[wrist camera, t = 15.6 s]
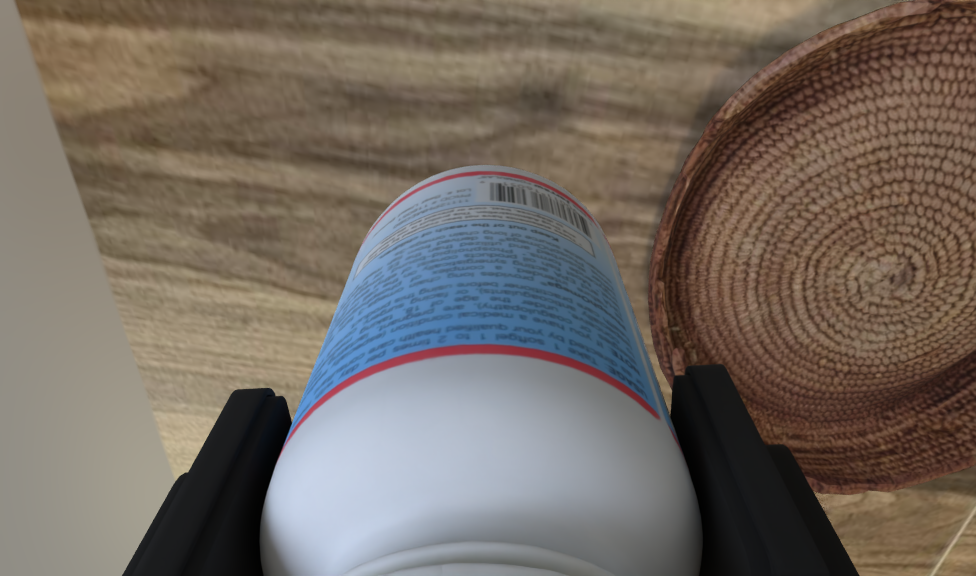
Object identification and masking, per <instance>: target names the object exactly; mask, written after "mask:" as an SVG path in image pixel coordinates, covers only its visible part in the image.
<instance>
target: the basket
mask: <svg viewBox="0 0 976 576" xmlns="http://www.w3.org/2000/svg"><path fill="white" fill-rule="evenodd" d="M648 303H649V316H650V325H651V332H652V338H653V344H654V348H655V351H656V354H657V357H658V361H659V364H660V367H661V370H662V372H663V374H664V376H665V377H666V379H667V381H668V383H669V385H670V387H671V389H672V388H673V379H674V376H675V375H684V374H685V369H686V367H687V366H692V365H711V364H723V365H724V366H725V367H726V369H727V371H728V373H729V375H730V377H731V379H732V381H733V383H734V385H735V387H736V389H737V390H738V392H739V394H740V396H741V398H742V400H743V402H744V404H745V406H746V408H747V410H748V412H749V414H750V416H751V418H752V420H753V422H754V424H755V426H756V428H757V430H758V432H759V434H760V436H761V438H762V440H763V442H764V444H765V445H773V444H783V445H785V446H787V447H788V448H789V450H790V451H791V453H792V454H793V456H794V457H795V459H796V461H797V463H798V465H799V467H800V468H801V470H802V472H803V474H804V476H805V477H806V479H807V481H808V483H809V485H810V487H811V488H812V490H813V491H815V492H818V493H821V494H843V495H852V494H859V493H864V492H866V491H869V490H870V491H883V492H891V491H895V490H899V489H903V488H907V487H910V486H914V485H918V484H921V483H924V482H927V481H930V480H933V479H936V478H939V477H942V476H944V475H947V474H951V473H955V472H958V471H961V470H964V469H967V468H969V467H972V466H974V465H975V464H976V0H915V1H908V2H900V3H897V4H893V5H890V6H887V7H884V8H881V9H878V10H876V11H873V12H871V13H868V14H866V15H863V16H861V17H858V18H855V19H852V20H850V21H847V22H844V23H841V24H838V25H836V26H833V27H831V28H829V29H827V30H825V31H822V32H820V33H818V34H817V35H815V36H813V37H811V38H809V39H808V40H806V41H804V42H802V43H800V44H799V45H797V46H795V47H793V48H791V49H790V50H788V51H786V52H785V53H784V54H782V55H781V56H780V57H778V58H777V59H775V60H774V61H773V62H771V63H770V64H769V65H767V66H766V67H764V68H763V69H762V70H760V71H759V72H758V73H756V74H755V75H754V76H753V77H752V78H751V79H750V80H748V81H747V82H746V83H745V84H744V85H743V86H742V87H741V88H740V89H739V90H738V91H737V92H736V93H735V94H733V95H732V96H731V97H730V98H729V99H728V101H727V102H726V103H725V104H724V105H723V106H722V107H721V108H720V109H719V111H718V112H717V113H716V114H715V115H714V116H713V118H712V119H711V120H710V122H709V123H708V124H707V126H706V128H705V130H704V133H703V135H702V137H701V138H700V140H699V141H698V143H697V144H696V145H695V147H694V148H693V150H692V151H691V153H690V154H689V156H688V157H687V159H686V161H685V163H684V165H683V168H682V170H681V172H680V174H679V176H678V178H677V180H676V182H675V184H674V187H673V189H672V191H671V194H670V196H669V198H668V201H667V204H666V207H665V210H664V213H663V216H662V219H661V222H660V225H659V227H658V230H657V233H656V235H655V240H654V245H653V250H652V256H651V261H650V270H649V289H648Z"/></svg>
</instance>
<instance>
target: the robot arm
mask: <svg viewBox="0 0 976 576" xmlns="http://www.w3.org/2000/svg"><path fill="white" fill-rule="evenodd" d="M671 420H672V423H673V425H674V428H675V431H676V434H677V437H678V441H679V444H680V446H681V449H682V451H683V454H684V457H685V460H686V463H687V466H688V468H689V472H690V476H691V480H692V483H693V486H694V489H695V492H696V495H697V499H698V504H699V509H700V514H701V520H702V532H703V549H702V559H701V568H700V573H699V576H859V574H858V572H857V570H856V568H855V567H854V565H853V563H852V561H851V559H850V558H849V556H848V554H847V552H846V550H845V548H844V547H843V545H842V543H841V541H840V539H839V538H838V536H837V534H836V532H835V530H834V528H833V527H832V525H831V523H830V521H829V519H828V518H827V516H826V514H825V512H824V510H823V508H822V507H821V505H820V503H819V501H818V499H817V498H816V496H815V494H814V492H813V490H812V488H811V487H810V485H809V483H808V481H807V479H806V477H805V476H804V474H803V472H802V470H801V468H800V467H799V465H798V463H797V461H796V459H795V457H794V456H793V454H792V453H791V451H790V450H789V448H788V447H787V446H785V445H783V444H773V445H765V444H764V442H763V440H762V438H761V436H760V434H759V432H758V430H757V428H756V426H755V424H754V422H753V420H752V418H751V416H750V414H749V412H748V410H747V408H746V406H745V404H744V402H743V400H742V398H741V396H740V394H739V392H738V390H737V389H736V387H735V385H734V383H733V381H732V379H731V377H730V375H729V373H728V371H727V369H726V367H725V366H724V365H723V364H711V365H692V366H687V367H686V369H685V374H684V375H675V376H674V379H673V388H672V403H671ZM291 425H292V421H291V417H290V413H289V409H288V406H287V402H286V399H285V398H284V397H283V396H275V393H274V391H273V390H272V389H270V388H257V389H238V390H235V391H234V392H233V393H232V394H231V396H230V397H229V399H228V401H227V403H226V405H225V407H224V408H223V410H222V412H221V414H220V416H219V417H218V419H217V421H216V423H215V425H214V427H213V428H212V430H211V432H210V434H209V436H208V437H207V439H206V441H205V443H204V445H203V447H202V448H201V450H200V452H199V454H198V456H197V457H196V459H195V461H194V463H193V465H192V467H191V468H190V470H189V472H188V473H184V474H183V475H181V476H179V478H178V479H177V480H176V482H175V483H174V485H173V487H172V488H171V490H170V492H169V493H168V495H167V497H166V499H165V501H164V502H163V504H162V506H161V508H160V509H159V511H158V513H157V515H156V517H155V518H154V520H153V522H152V524H151V525H150V527H149V529H148V531H147V533H146V534H145V536H144V538H143V540H142V541H141V543H140V545H139V547H138V548H137V550H136V552H135V554H134V556H133V558H132V559H131V561H130V563H129V564H128V566H127V568H126V570H125V572H124V573H123V575H122V576H264V575H263V570H262V565H261V556H260V542H259V540H260V524H261V517H262V510H263V506H264V502H265V498H266V494H267V490H268V487H269V484H270V481H271V478H272V475H273V472H274V469H275V465H276V463H277V460H278V458H279V456H280V453H281V451H282V449H283V446H284V443H285V441H286V438H287V436H288V433H289V430H290V428H291Z"/></svg>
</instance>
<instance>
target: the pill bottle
mask: <svg viewBox="0 0 976 576" xmlns="http://www.w3.org/2000/svg"><path fill="white" fill-rule="evenodd" d="M259 542H260V556H261V565H262V570H263V575H264V576H699V573H700V568H701V559H702V549H703V532H702V520H701V514H700V509H699V504H698V499H697V495H696V492H695V489H694V486H693V483H692V480H691V476H690V472H689V468H688V466H687V463H686V460H685V457H684V454H683V451H682V449H681V446H680V444H679V441H678V437H677V434H676V431H675V428H674V425H673V423H672V420H671V417H670V415H669V412H668V409H667V406H666V403H665V400H664V397H663V395H662V392H661V389H660V386H659V383H658V380H657V377H656V375H655V372H654V369H653V366H652V363H651V360H650V357H649V354H648V352H647V349H646V346H645V343H644V339H643V337H642V335H641V331H640V329H639V326H638V323H637V320H636V317H635V315H634V312H633V309H632V306H631V303H630V300H629V298H628V295H627V292H626V289H625V287H624V284H623V281H622V278H621V275H620V272H619V269H618V266H617V263H616V260H615V258H614V255H613V252H612V250H611V247H610V245H609V243H608V240H607V238H606V236H605V234H604V232H603V230H602V229H601V227H600V225H599V223H598V222H597V221H596V219H595V218H594V217H593V215H592V214H591V213H590V212H589V211H588V209H587V208H586V207H585V206H584V205H583V204H582V203H581V202H580V201H579V200H578V199H576V198H575V197H574V196H573V195H572V194H571V193H569V192H568V191H567V190H565V189H564V188H562V187H561V186H559V185H557V184H556V183H554V182H552V181H550V180H548V179H546V178H544V177H542V176H539V175H536V174H534V173H531V172H528V171H524V170H521V169H517V168H512V167H506V166H495V165H476V166H466V167H461V168H456V169H451V170H448V171H445V172H442V173H439V174H437V175H434V176H432V177H429V178H427V179H426V180H424V181H422V182H420V183H418V184H416V185H415V186H413V187H412V188H410V189H409V190H407V191H406V192H404V193H403V194H402V195H400V196H399V197H398V198H397V199H396V200H395V201H394V202H393V203H392V204H391V205H390V206H389V207H388V208H387V209H386V210H385V211H384V212H383V213H382V214H381V216H380V217H379V218H378V219H377V220H376V222H375V223H374V224H373V226H372V227H371V229H370V230H369V232H368V234H367V235H366V237H365V239H364V241H363V243H362V245H361V247H360V250H359V252H358V254H357V256H356V259H355V261H354V264H353V267H352V270H351V272H350V275H349V277H348V280H347V283H346V285H345V288H344V291H343V293H342V296H341V298H340V301H339V304H338V306H337V309H336V312H335V314H334V317H333V319H332V322H331V325H330V327H329V330H328V333H327V335H326V338H325V340H324V343H323V346H322V348H321V351H320V353H319V356H318V358H317V361H316V363H315V366H314V368H313V371H312V373H311V376H310V379H309V381H308V384H307V386H306V389H305V392H304V394H303V397H302V399H301V402H300V404H299V407H298V410H297V412H296V415H295V417H294V420H293V423H292V425H291V428H290V430H289V433H288V436H287V438H286V441H285V443H284V446H283V449H282V451H281V453H280V456H279V458H278V460H277V463H276V465H275V469H274V472H273V475H272V478H271V481H270V484H269V487H268V490H267V494H266V498H265V502H264V506H263V510H262V517H261V524H260V540H259Z"/></svg>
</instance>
